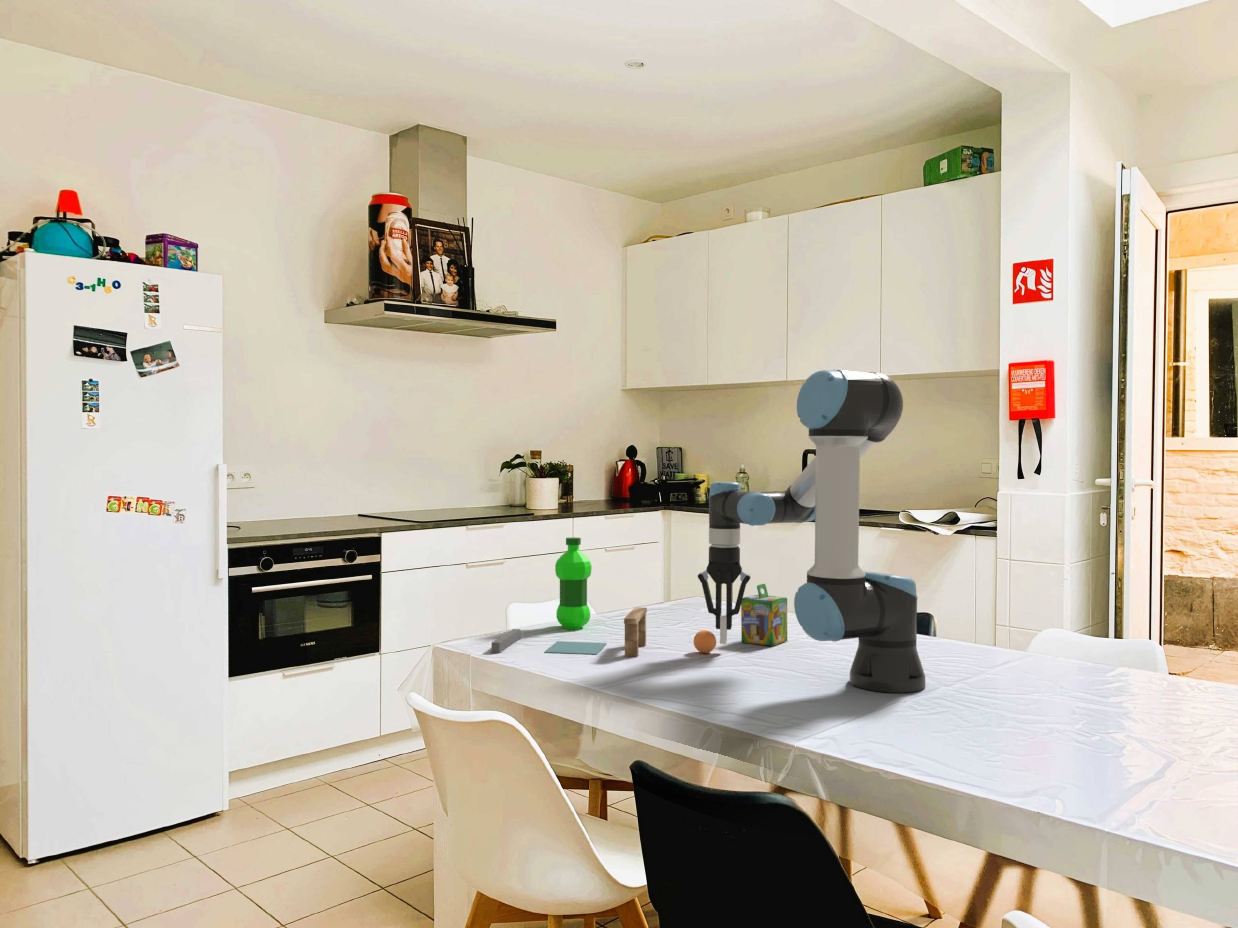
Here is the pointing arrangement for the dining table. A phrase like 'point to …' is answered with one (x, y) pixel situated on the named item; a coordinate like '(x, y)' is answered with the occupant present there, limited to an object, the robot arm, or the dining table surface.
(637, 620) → the bridge
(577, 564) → the plastic bottle
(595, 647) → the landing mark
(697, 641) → the ball
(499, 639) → the grey long bar
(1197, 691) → the dining table surface
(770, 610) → the chalk box
